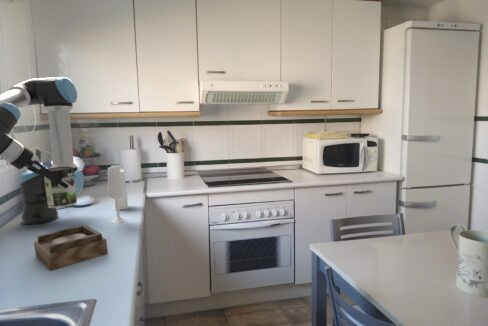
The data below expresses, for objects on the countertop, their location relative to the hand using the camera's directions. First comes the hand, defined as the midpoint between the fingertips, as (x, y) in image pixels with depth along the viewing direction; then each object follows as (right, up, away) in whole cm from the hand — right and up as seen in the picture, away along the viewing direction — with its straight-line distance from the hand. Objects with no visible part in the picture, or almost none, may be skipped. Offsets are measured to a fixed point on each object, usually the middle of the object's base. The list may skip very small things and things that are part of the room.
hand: (69, 189), depth 143 cm
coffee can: (-2, -6, -1) cm, 6 cm away
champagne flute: (+12, -16, +21) cm, 29 cm away
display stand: (+9, -21, -16) cm, 28 cm away
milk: (+6, -13, +43) cm, 45 cm away
